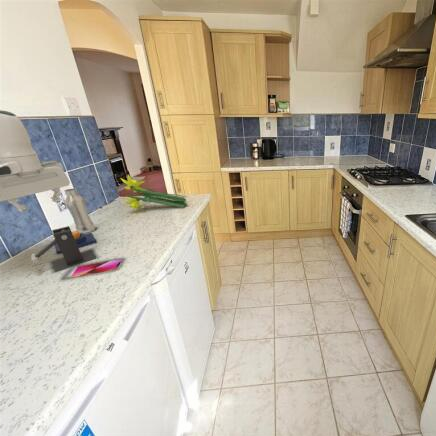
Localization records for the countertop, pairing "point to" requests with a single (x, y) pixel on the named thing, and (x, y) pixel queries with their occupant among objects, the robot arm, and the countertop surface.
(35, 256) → the switch lever
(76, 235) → the boil button
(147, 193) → the daffodil flowers
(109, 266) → the smartphone
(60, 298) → the countertop surface
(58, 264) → the black stand
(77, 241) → the boil block
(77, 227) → the plastic bottle
